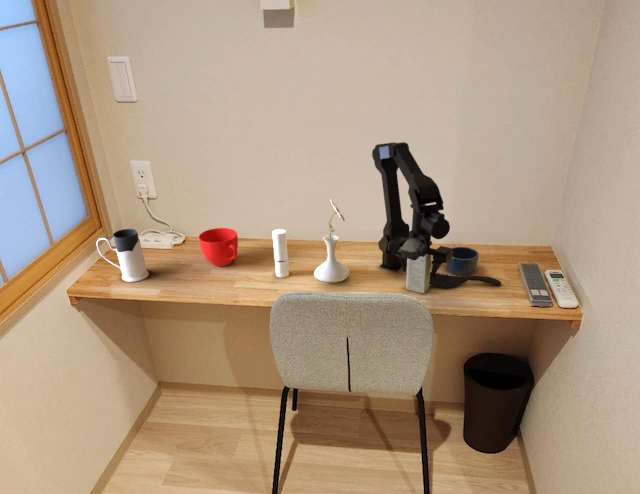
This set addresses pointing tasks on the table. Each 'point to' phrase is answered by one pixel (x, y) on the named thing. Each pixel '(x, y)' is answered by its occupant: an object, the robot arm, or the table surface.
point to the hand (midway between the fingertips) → (418, 275)
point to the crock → (463, 261)
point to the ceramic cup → (219, 245)
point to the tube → (280, 252)
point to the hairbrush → (459, 280)
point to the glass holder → (128, 255)
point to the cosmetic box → (418, 274)
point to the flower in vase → (331, 257)
